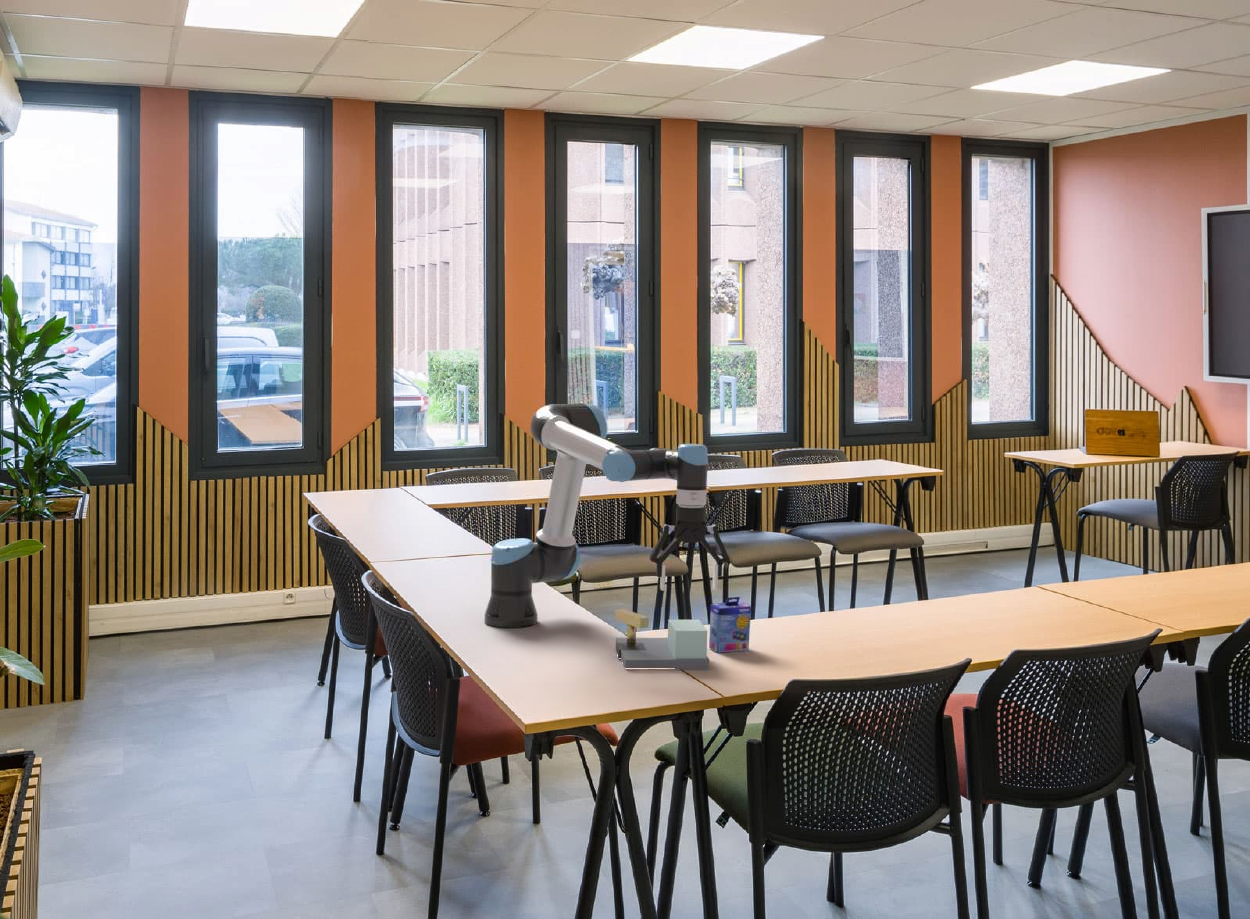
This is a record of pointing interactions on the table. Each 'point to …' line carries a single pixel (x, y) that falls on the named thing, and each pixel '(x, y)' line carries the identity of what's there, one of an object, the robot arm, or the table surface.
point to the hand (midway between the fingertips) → (688, 589)
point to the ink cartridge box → (729, 626)
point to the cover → (687, 639)
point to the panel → (654, 655)
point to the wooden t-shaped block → (631, 623)
